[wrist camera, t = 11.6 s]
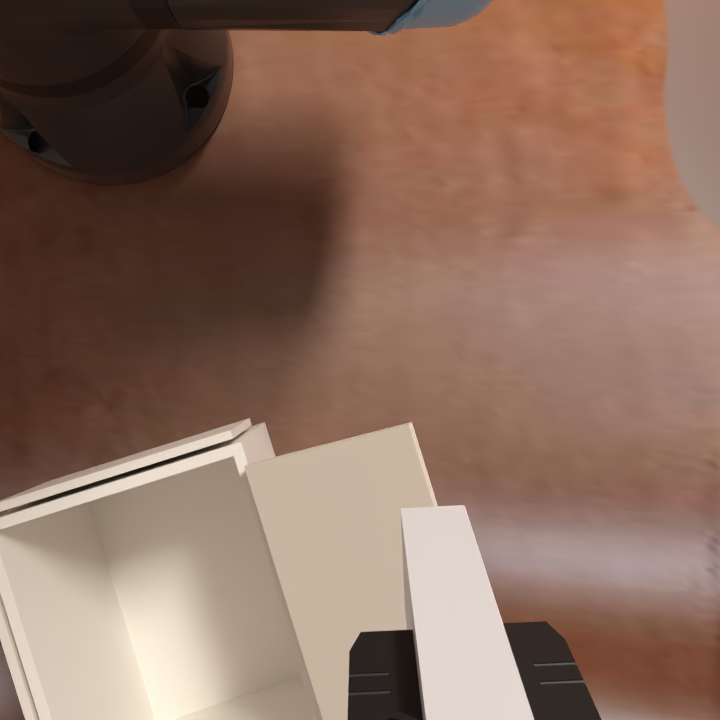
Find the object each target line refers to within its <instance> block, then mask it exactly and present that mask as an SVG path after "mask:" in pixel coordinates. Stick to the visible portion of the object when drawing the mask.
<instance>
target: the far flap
mask: <svg viewBox="0 0 720 720" xmlns="http://www.w3.org/2000/svg"><path fill="white" fill-rule="evenodd" d="M244 468H245V471H246V474H247V477H248V481H249V484H250V487H251V490H252V493H253V497H254V500H255V503H256V506H257V509H258V513H259V516H260V519H261V522H262V526H263V529H264V532H265V535H266V538H267V542H268V545H269V548H270V551H271V555H272V558H273V561H274V564H275V567H276V571H277V574H278V577H279V580H280V583H281V587H282V590H283V593H284V596H285V600H286V603H287V606H288V609H289V612H290V616H291V619H292V622H293V625H294V629H295V632H296V635H297V638H298V641H299V645H300V648H301V651H302V654H303V657H304V661H305V664H306V667H307V670H308V674H309V677H310V680H311V683H312V686H313V690H314V693H315V696H316V699H317V703H318V706H319V709H320V712H321V715H322V719H323V720H348V683H349V651H350V649H351V648H352V646H353V644H354V642H355V641H356V639H357V637H358V636H359V634H360V632H369V631H391V630H407V624H406V614H405V599H404V576H403V554H402V531H401V508H418V507H438V505H437V502H436V499H435V496H434V492H433V489H432V486H431V483H430V479H429V476H428V473H427V470H426V467H425V463H424V460H423V457H422V454H421V450H420V447H419V444H418V441H417V438H416V434H415V431H414V428H413V425H412V422H410V423H406V424H402V425H398V426H394V427H391V428H387V429H383V430H379V431H375V432H371V433H367V434H363V435H359V436H355V437H351V438H347V439H343V440H340V441H336V442H332V443H328V444H324V445H320V446H316V447H312V448H308V449H304V450H300V451H296V452H293V453H289V454H285V455H281V456H277V457H273V458H269V459H265V460H261V461H257V462H253V463H249V464H247V465H245V466H244Z"/></svg>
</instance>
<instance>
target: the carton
mask: <svg viewBox="0 0 720 720" xmlns="http://www.w3.org/2000/svg"><path fill="white" fill-rule="evenodd" d="M273 457H276V456H275V453H274V450H273V447H272V444H271V440H270V437H269V434H268V431H267V427H266V424H265V422H263V423H260V424H257V425H253V426H251V422H250V418H248V419H245V420H242V421H239V422H236V423H232V424H229V425H226V426H223V427H220V428H216V429H213V430H210V431H207V432H204V433H200V434H197V435H194V436H191V437H188V438H184V439H181V440H178V441H175V442H172V443H168V444H165V445H162V446H159V447H156V448H152V449H149V450H146V451H143V452H140V453H136V454H133V455H130V456H127V457H124V458H120V459H117V460H114V461H111V462H108V463H104V464H101V465H98V466H95V467H92V468H89V469H85V470H82V471H79V472H76V473H73V474H69V475H66V476H63V477H60V478H57V479H53V480H50V481H48V482H45V483H43V484H40V485H38V486H35V487H33V488H30V489H28V490H25V491H23V492H20V493H18V494H15V495H13V496H10V497H8V498H5V499H3V500H1V501H0V512H1V511H4V510H7V509H10V508H13V507H17V506H19V507H17V508H15V509H12V510H10V511H8V512H6V513H3V514H1V515H0V640H1V643H2V647H3V650H4V653H5V656H6V660H7V663H8V666H9V669H10V672H11V676H12V679H13V682H14V685H15V688H16V692H17V695H18V698H19V701H20V704H21V708H22V711H23V714H24V717H25V720H323V719H322V715H321V712H320V709H319V706H318V703H317V699H316V696H315V693H314V690H313V686H312V683H311V680H310V677H309V674H308V670H307V667H306V664H305V661H304V657H303V654H302V651H301V648H300V645H299V641H298V638H297V635H296V632H295V629H294V625H293V622H292V619H291V616H290V612H289V609H288V606H287V603H286V600H285V596H284V593H283V590H282V587H281V583H280V580H279V577H278V574H277V571H276V567H275V564H274V561H273V558H272V555H271V551H270V548H269V545H268V542H267V538H266V535H265V532H264V529H263V526H262V522H261V519H260V516H259V513H258V509H257V506H256V503H255V500H254V497H253V493H252V490H251V487H250V484H249V481H248V477H247V474H246V471H245V468H244V466H245V465H247V464H249V463H253V462H257V461H261V460H265V459H269V458H273ZM23 504H24V505H23ZM20 505H21V506H20Z"/></svg>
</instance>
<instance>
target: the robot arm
mask: <svg viewBox="0 0 720 720" xmlns="http://www.w3.org/2000/svg"><path fill="white" fill-rule="evenodd" d="M491 1H492V0H0V131H1V132H2V133H3V134H4V135H5V136H6V137H7V138H8V139H9V140H10V141H11V142H12V143H13V144H15V145H16V146H17V147H18V148H20V149H21V150H22V151H24V152H25V153H27V154H28V155H29V156H31V157H32V158H33V159H35V160H36V161H38V162H39V163H41V164H42V165H44V166H45V167H47V168H49V169H51V170H53V171H55V172H57V173H59V174H61V175H64V176H66V177H69V178H72V179H76V180H79V181H83V182H88V183H95V184H108V185H113V184H128V183H134V182H139V181H143V180H147V179H150V178H153V177H156V176H158V175H160V174H163V173H165V172H167V171H169V170H171V169H173V168H174V167H176V166H178V165H179V164H181V163H182V162H184V161H185V160H186V159H188V158H189V157H190V156H191V155H193V154H194V153H195V152H196V151H197V150H198V149H199V148H200V147H201V146H202V145H203V144H204V143H205V141H206V140H207V139H208V138H209V136H210V135H211V134H212V132H213V131H214V129H215V128H216V126H217V124H218V123H219V121H220V119H221V117H222V115H223V113H224V110H225V108H226V105H227V102H228V99H229V95H230V92H231V86H232V80H233V50H232V44H231V39H230V35H229V31H228V30H267V31H367V32H369V33H371V34H374V35H383V36H385V35H386V34H387V33H389V34H394V33H396V32H398V31H400V30H403V29H414V28H434V27H450V26H454V25H457V24H459V23H462V22H464V21H467V20H469V19H470V18H472V17H474V16H476V15H477V14H479V13H480V12H481V11H482V10H483V9H484V8H486V7H487V6H488V5H489V3H490V2H491ZM401 531H402V554H403V576H404V599H405V614H406V624H407V630H391V631H369V632H360V634H359V636H358V637H357V639H356V641H355V642H354V644H353V646H352V648H351V649H350V651H349V683H348V720H601V718H600V716H599V713H598V711H597V709H596V707H595V704H594V702H593V700H592V698H591V696H590V693H589V691H588V689H587V687H586V685H585V683H583V678H582V676H581V673H580V671H579V669H578V667H577V665H575V660H574V658H573V656H572V654H571V651H570V649H569V647H568V645H567V642H566V640H565V639H564V638H563V637H562V636H561V635H560V634H559V633H558V632H557V631H556V630H554V629H553V628H552V627H551V626H550V625H549V624H548V623H547V622H546V621H544V622H522V623H503V622H502V619H501V616H500V613H499V610H498V607H497V604H496V601H495V598H494V594H493V591H492V588H491V585H490V582H489V579H488V576H487V573H486V570H485V567H484V564H483V561H482V558H481V555H480V551H479V548H478V545H477V542H476V539H475V536H474V533H473V530H472V527H471V524H470V521H469V518H468V515H467V511H466V508H465V505H458V506H438V507H418V508H401Z"/></svg>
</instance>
